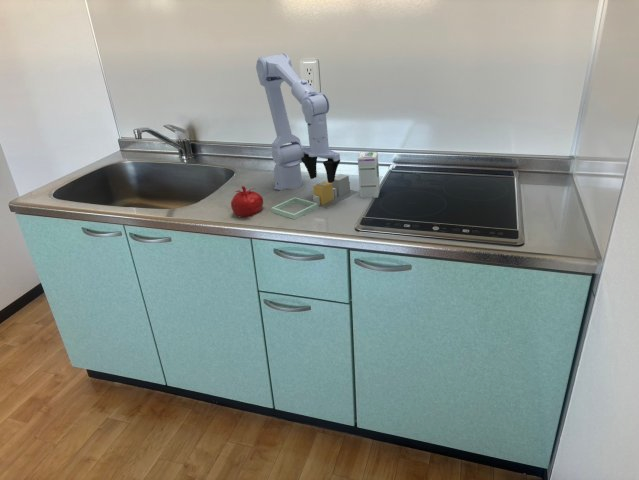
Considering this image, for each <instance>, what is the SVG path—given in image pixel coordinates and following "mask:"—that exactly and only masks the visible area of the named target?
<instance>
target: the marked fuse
mask: <svg viewBox="0 0 639 480" xmlns="http://www.w3.org/2000/svg"><path fill="white" fill-rule="evenodd" d="M312 188H313V196H314V195H315V196H319V199H320V204H321V205H324V204H326V203H328V202H330V201H332V200H333V188H332V183H328V181H321V182H320V183H318V184H317V183H316V184H315V185H313V187H312Z"/></svg>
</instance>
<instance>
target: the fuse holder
mask: <svg viewBox="0 0 639 480" xmlns="http://www.w3.org/2000/svg"><path fill="white" fill-rule="evenodd" d="M350 183H351V182H350V181H349V189H350V192H348V193H346V194H344V195H342V196H340V197H339V196H337V190H336V188H333V200H332V201H330V202H328V203H326V204H324V205H321V204H320V199H319V196H315V195H314V194H313V196H312V198H311V199H310V200H309V201H311V202H314V203H318V208H323V209H328V208H330V207H332V206H334V205H336V204H338V203H340V202H342V201H344V200H345V199H346V200H347V198H350V197H352V196H354V195H356V194H358V193H359V191H357V190H353V189H351V184H350Z"/></svg>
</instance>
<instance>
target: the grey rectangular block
mask: <svg viewBox="0 0 639 480" xmlns="http://www.w3.org/2000/svg"><path fill="white" fill-rule="evenodd" d="M349 178H350V177H349V175H347V174H343V173H342V174H341V173H340V174H338V175H335V179H334V182H332V188H336V190H337V196H339V197H340V196H342V195H344V194H346V193H348V192H350V190H351V188H350V189H349V182H350V181H349V180H350V179H349Z"/></svg>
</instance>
